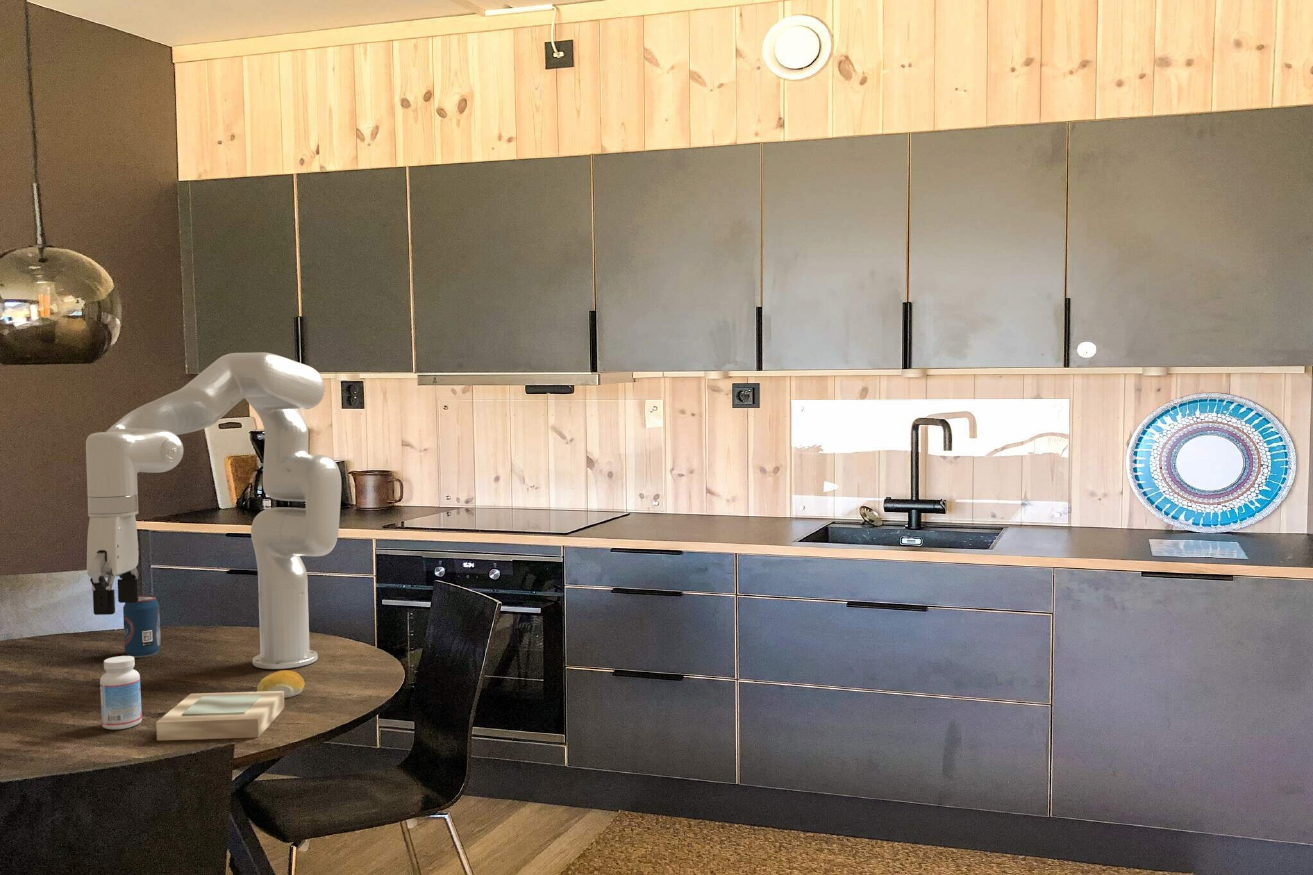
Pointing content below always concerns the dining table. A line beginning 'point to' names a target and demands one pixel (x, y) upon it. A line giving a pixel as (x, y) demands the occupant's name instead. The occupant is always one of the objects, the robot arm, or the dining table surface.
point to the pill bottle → (120, 694)
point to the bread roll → (282, 683)
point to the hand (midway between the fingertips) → (116, 608)
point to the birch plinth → (221, 715)
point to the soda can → (142, 627)
